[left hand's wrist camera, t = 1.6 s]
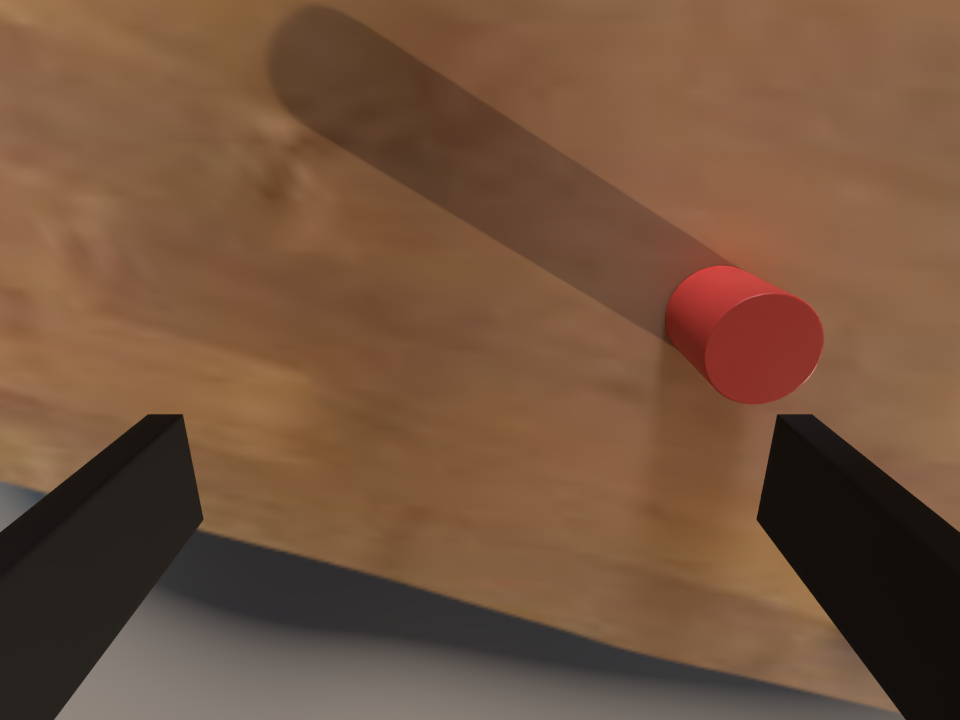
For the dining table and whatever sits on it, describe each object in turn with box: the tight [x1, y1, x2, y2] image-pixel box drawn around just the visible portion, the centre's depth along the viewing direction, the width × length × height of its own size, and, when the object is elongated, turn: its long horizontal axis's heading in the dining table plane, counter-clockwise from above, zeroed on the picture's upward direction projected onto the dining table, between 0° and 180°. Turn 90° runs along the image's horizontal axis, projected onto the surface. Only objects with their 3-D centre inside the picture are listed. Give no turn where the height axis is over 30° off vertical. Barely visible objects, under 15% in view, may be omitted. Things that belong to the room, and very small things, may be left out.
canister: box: [665, 266, 824, 404], centre depth 22 cm, size 4×4×5 cm
